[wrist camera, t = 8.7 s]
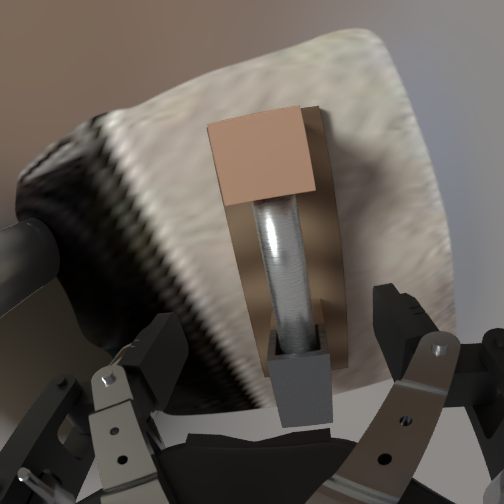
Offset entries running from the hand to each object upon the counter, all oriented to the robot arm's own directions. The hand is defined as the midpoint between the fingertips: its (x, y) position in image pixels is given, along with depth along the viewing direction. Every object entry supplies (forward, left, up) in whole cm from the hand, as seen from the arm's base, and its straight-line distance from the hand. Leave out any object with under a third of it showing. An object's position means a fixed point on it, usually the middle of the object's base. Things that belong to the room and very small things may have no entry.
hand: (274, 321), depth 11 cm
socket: (+4, +5, -16) cm, 17 cm away
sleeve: (-7, -11, -12) cm, 17 cm away
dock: (-2, -4, -17) cm, 18 cm away
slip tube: (-1, -2, -11) cm, 12 cm away
